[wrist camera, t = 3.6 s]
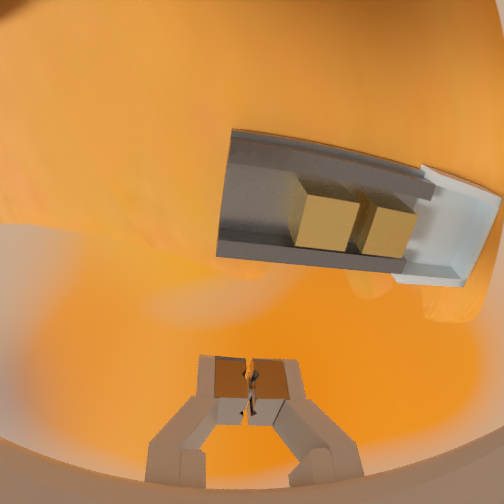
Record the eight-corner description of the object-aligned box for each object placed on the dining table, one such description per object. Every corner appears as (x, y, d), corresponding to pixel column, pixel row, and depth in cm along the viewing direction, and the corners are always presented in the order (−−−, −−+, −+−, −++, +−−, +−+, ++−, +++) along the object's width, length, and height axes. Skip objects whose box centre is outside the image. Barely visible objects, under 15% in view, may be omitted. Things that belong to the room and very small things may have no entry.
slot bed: (216, 243, 27) (215, 261, 24) (231, 128, 22) (231, 134, 19) (386, 261, 29) (399, 278, 26) (420, 168, 24) (437, 179, 21)
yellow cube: (347, 232, 26) (361, 253, 23) (360, 190, 24) (377, 206, 21) (384, 238, 26) (401, 258, 23) (398, 198, 24) (418, 215, 21)
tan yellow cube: (287, 224, 25) (295, 245, 22) (297, 178, 23) (307, 194, 20) (331, 230, 26) (344, 251, 23) (344, 187, 24) (360, 203, 21)
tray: (385, 265, 29) (397, 282, 27) (421, 163, 24) (439, 174, 21) (450, 272, 31) (463, 287, 28) (485, 187, 25) (502, 198, 23)
